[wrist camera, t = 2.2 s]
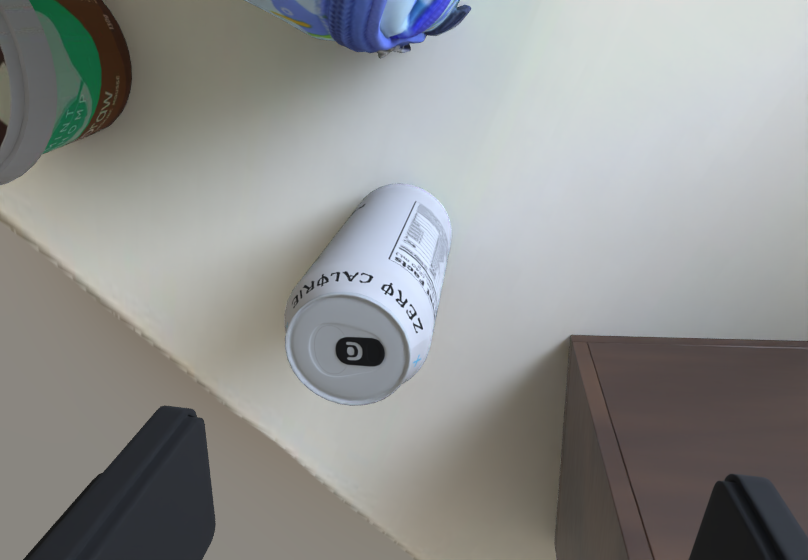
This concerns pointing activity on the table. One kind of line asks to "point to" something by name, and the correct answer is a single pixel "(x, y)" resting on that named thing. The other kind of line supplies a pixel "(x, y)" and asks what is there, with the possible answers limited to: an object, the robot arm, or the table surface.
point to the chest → (673, 438)
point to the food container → (57, 77)
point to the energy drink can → (371, 298)
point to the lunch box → (369, 21)
